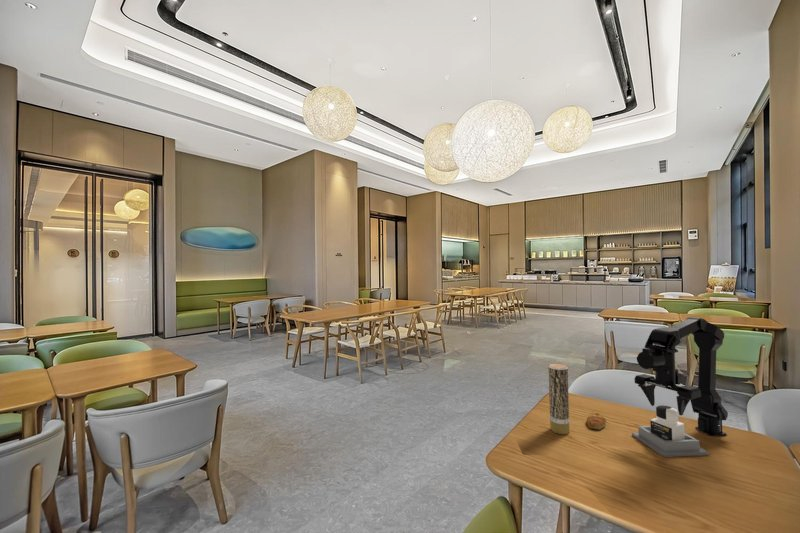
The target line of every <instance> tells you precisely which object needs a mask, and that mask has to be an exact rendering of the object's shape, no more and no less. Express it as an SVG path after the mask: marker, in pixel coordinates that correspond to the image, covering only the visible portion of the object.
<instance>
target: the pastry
mask: <svg viewBox="0 0 800 533" xmlns="http://www.w3.org/2000/svg"><path fill="white" fill-rule="evenodd" d="M586 423H587V426H588V428H589V429H594V430H601V429H604V428H605V426H607V419H606V418H605V417H604V416H603V414H600V413H597V412H594V413H592V412H591V414H589V415H588V416H587V417H586Z"/></svg>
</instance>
